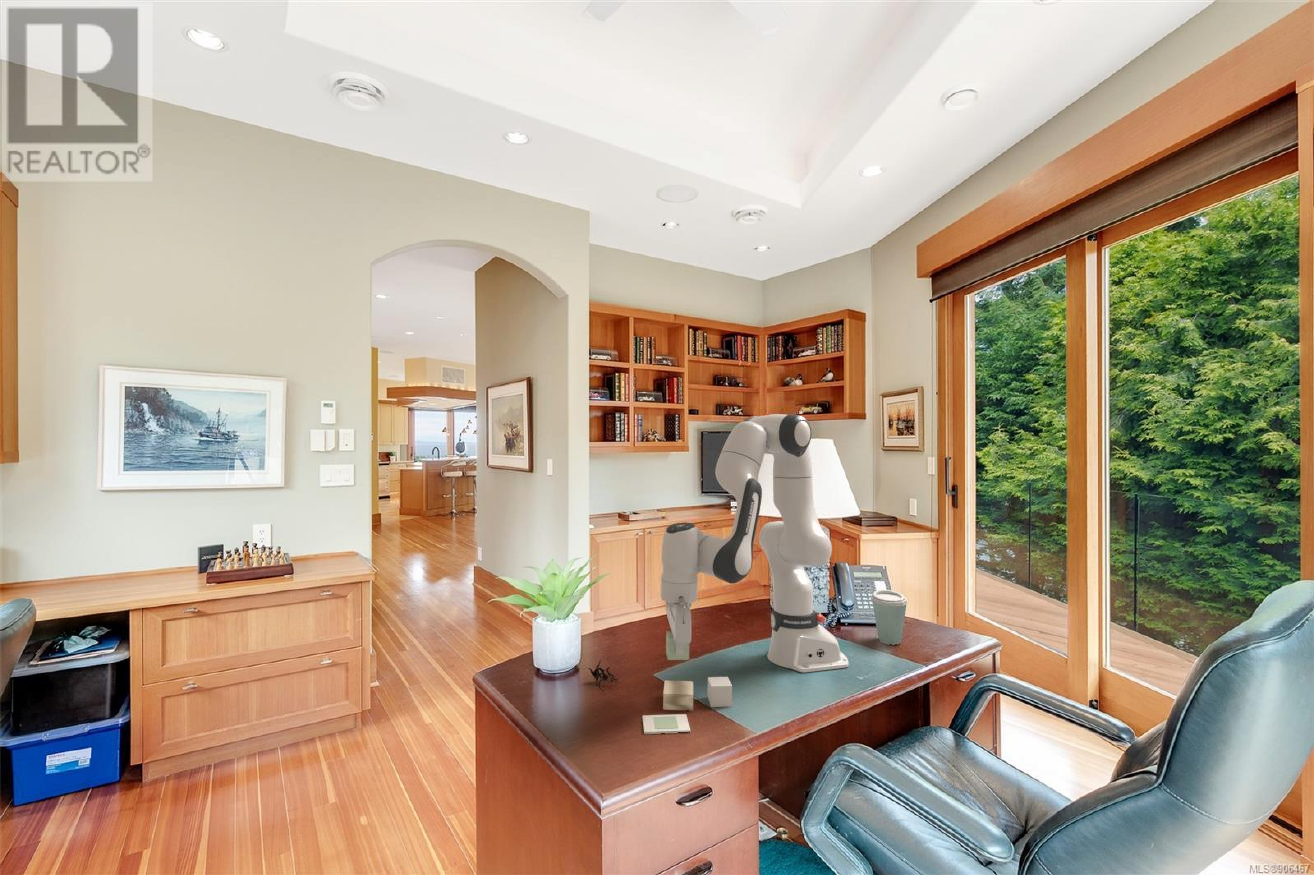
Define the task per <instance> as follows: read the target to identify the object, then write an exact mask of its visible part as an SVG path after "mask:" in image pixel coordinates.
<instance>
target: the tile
mask: <svg viewBox="0 0 1314 875" xmlns="http://www.w3.org/2000/svg"><path fill="white" fill-rule="evenodd" d="M687 716H688V715H687V714H685V713H684V714H683V713H682V714H681V713H679V714H675V713H674V714H650V715H649V714H648V715H644V714H642V724H643V725H642V726H643V733H644V735H655V734H656V735H658V734H659V735H662V734H661V733H665V734H679V733H678V732H689V731H690V732H691V728H690V723H689V720H688V717H687Z"/></svg>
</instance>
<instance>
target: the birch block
mask: <svg viewBox="0 0 1314 875" xmlns="http://www.w3.org/2000/svg"><path fill="white" fill-rule="evenodd" d="M662 692H663V695H662V696H663V697H662V699H663V702H662V710H665V711H667V710H668V711H686V710H689V711H691V712H693V711H694V681H691V680H664V684H663V691H662Z"/></svg>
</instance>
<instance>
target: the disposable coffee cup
mask: <svg viewBox="0 0 1314 875" xmlns="http://www.w3.org/2000/svg"><path fill="white" fill-rule="evenodd" d="M870 600H871V603H872V608H873V614H874V619H875V621H874V622H875V626H876V627H875V628H876V632H877V637H878V640H879V642H880V643H882V644H885V645H889V644H892V646H896V645H895V644H897V645H899V644H901V643H902V642H901V641H902V639H903V630H904V624H905V618H906V612H907V611H906V609H907V605H908V600H907V598H906V597H905V595H904V594H902V593H901V592H898V591H894V590H890V589H889V590H888V589H881V590H879V589H878V590H875V591H874V592H872V595H871V596H870Z"/></svg>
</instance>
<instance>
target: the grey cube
mask: <svg viewBox="0 0 1314 875" xmlns="http://www.w3.org/2000/svg"><path fill="white" fill-rule="evenodd" d="M707 700H708V703H709V705H710V707H711V708H725V707H726V708H727V707H733V684H732V682H731V680H730V678H729V677H728V676H708V677H707Z"/></svg>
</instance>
